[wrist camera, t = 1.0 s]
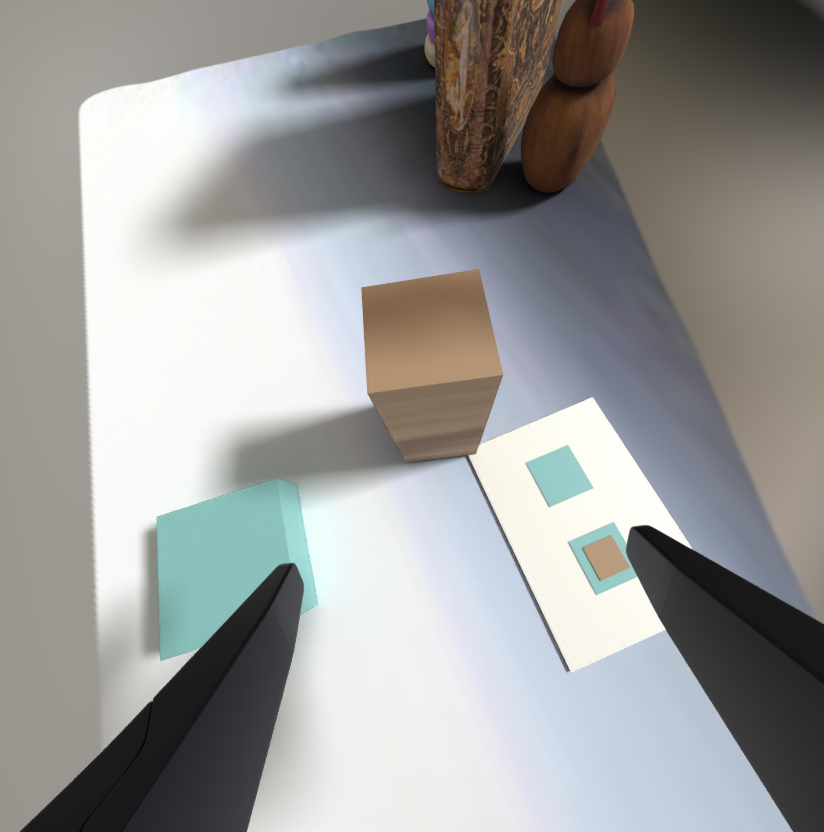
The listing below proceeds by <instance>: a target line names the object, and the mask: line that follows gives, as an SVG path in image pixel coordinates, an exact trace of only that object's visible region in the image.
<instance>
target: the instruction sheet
mask: <svg viewBox="0 0 824 832" xmlns="http://www.w3.org/2000/svg"><path fill="white" fill-rule="evenodd" d="M468 456H469V459H470V461H471V463H472V465H473V467H474V469H475V471H476V473H477V475H478V478H479V480H480V482H481V484H482V486H483V488H484V490H485V492H486V494H487V497H488V499H489V501H490V503H491V505H492V507H493V509H494V511H495V513H496V516H497V518H498V520H499V522H500V524H501V526H502V528H503V530H504V532H505V535H506V537H507V539H508V541H509V543H510V545H511V547H512V549H513V551H514V554H515V556H516V558H517V560H518V562H519V564H520V566H521V568H522V570H523V573H524V575H525V577H526V579H527V581H528V583H529V585H530V587H531V589H532V592H533V594H534V596H535V598H536V600H537V602H538V604H539V606H540V608H541V611H542V613H543V615H544V617H545V619H546V621H547V623H548V625H549V627H550V630H551V632H552V634H553V636H554V638H555V640H556V642H557V644H558V646H559V649H560V651H561V653H562V655H563V657H564V659H565V661H566V663H567V665H568V668H569V670H570V672H574V671H576V670H578V669H580V668H582V667H585V666H587V665H589V664H591V663H593V662H596V661H598V660H600V659H602V658H604V657H606V656H609V655H611V654H613V653H615V652H617V651H620V650H622V649H624V648H626V647H628V646H631V645H633V644H635V643H637V642H639V641H642V640H644V639H646V638H648V637H650V636H652V635H655V634H657V633H659V632H661V631H663V630H666V629H665V628H664V626H663V624H662V623H661V621H660V619H659V618H658V616H657V614H656V612H655V610H654V608H653V606H652V604H651V603H650V601H649V599H648V597H647V595H646V593H645V591H644V589H643V587H642V585H641V583H640V581H639V579H638V577H637V575H636V573H635V571H634V569H633V567H632V565H631V563H630V561H629V559H628V557H627V554H626V545H627V540H628V535H629V530H630V528H631V527H633V526H639V525H649V526H652V527H654V528H655V529H657V530H659V531H661V532H663V533H664V534H666V535H668V536H670V537H671V538H673V539H675V540H677V541H678V542H680V543H682V544H684V545H685V546H687V547H689V548H691V546H690V544H689V543H688V541H687V540H686V538H685V537H684V535H683V534H682V532H681V531H680V529H679V528H678V526H677V525H676V523H675V522H674V520H673V519H672V517H671V516H670V514H669V513H668V511H667V510H666V508H665V507H664V505H663V503H662V502H661V500H660V499H659V497H658V496H657V494H656V493H655V491H654V490H653V488H652V487H651V485H650V484H649V482H648V481H647V479H646V478H645V476H644V475H643V473H642V472H641V470H640V469H639V467H638V465H637V464H636V462H635V461H634V459H633V458H632V456H631V455H630V453H629V452H628V450H627V449H626V447H625V446H624V444H623V443H622V441H621V440H620V438H619V437H618V435H617V434H616V432H615V431H614V429H613V427H612V426H611V424H610V423H609V421H608V420H607V418H606V417H605V415H604V414H603V412H602V411H601V409H600V408H599V406H598V405H597V403H596V402H595V400H594V399H593V397H592V398H590V399H587V400H585V401H582V402H580V403H578V404H575V405H573V406H570V407H568V408H566V409H563V410H561V411H559V412H556V413H554V414H551V415H549V416H547V417H544V418H542V419H540V420H537V421H535V422H532V423H530V424H528V425H525V426H523V427H520V428H518V429H516V430H513V431H511V432H509V433H506V434H504V435H501V436H499V437H497V438H494V439H492V440H490V441H487V442H485V443H482V444H480V445H479V447H478V450H477V453H476V454H472V455H468ZM691 549H692V548H691ZM692 550H693V549H692Z"/></svg>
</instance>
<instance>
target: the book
mask: <svg viewBox="0 0 824 832" xmlns="http://www.w3.org/2000/svg"><path fill="white" fill-rule="evenodd" d="M561 2H562V0H434V29H435V84H436V139H437V178H438V180H439V182H440V183H441V184H442V185H443V186H445V187H447V188H448V189H451V190H454V191H457V192H461V193H480V192H483V191H486V190H488V189H489V187H490V186H491V184H492V182H493V180H494V178H495V176H496V175H497V173H498V171H499V169H500V167H501V165H502V164H503V162H504V160H505V158H506V156H507V154H508V153H509V151H510V149H511V147H512V145H513V143H514V142H515V140H516V138H517V136H518V134H519V132H520V131H521V129H522V127H523V125H524V123H525V121H526V119H527V116H528V113H529V110H530V108H531V107H532V105H533V103H534V101H535V99H536V97H537V95H538V93H539V91H540V90H541V88H542V85H543V81H544V77H545V73H546V69H547V64H548V60H549V56H550V51H551V47H552V42H553V38H554V33H555V29H556V24H557V20H558V16H559V11H560V7H561Z"/></svg>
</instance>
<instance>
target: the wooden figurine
mask: <svg viewBox="0 0 824 832" xmlns="http://www.w3.org/2000/svg"><path fill="white" fill-rule="evenodd" d="M633 18H634V5H633V3H632V1H631V0H576V1H575V2H574V3H573V5H572V6H571V8H570V9H569V10H568V12H567V13H566V15H565V17H564V20H563V22H562V24H561V27H560V30H559V33H558V36H557V40H556V44H555V47H554V53H553V69H554V72H555V73H554V74H553V75H552V77H551V78H550V79H549V80H548V81H547V82H546V84H545V85H544V86H543V87H542V88H541V90H540V91H539V93H538V95H537V97H536V99H535V101H534V103H533V105H532V107H531V108H530V110H529V113H528V116H527V119H526V122H525V125H524V129H523V134H522V139H521V158H522V166H523V170H524V174H525V179H526V181H527V182H528V183H529V184H530V185H531V186H532V187H533V188H534V189H536V190H537V191H539V192H545V193H549V192H556V191H559V190H561V189H564V188H565V187H567V186H569V185H570V184H571V183H573V182H574V181H575V179H576V178H577V177H578V175H579V174H580V173H581V172H582V170H583V169H584V168H585V166H586V165H587V163H588V162H589V160H590V159H591V157H592V155H593V153H594V151H595V149H596V147H597V146H598V144H599V142H600V140H601V138H602V136H603V134H604V131H605V129H606V126H607V124H608V122H609V119H610V116H611V113H612V109H613V106H614V101H615V94H616V88H615V83H614V78H613V75H612V72H613V70H614V69H615V67H616V66H617V65H618V63H619V62H620V60H621V58H622V56H623V53H624V51H625V49H626V46H627V43H628V40H629V37H630V33H631V29H632V23H633Z"/></svg>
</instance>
